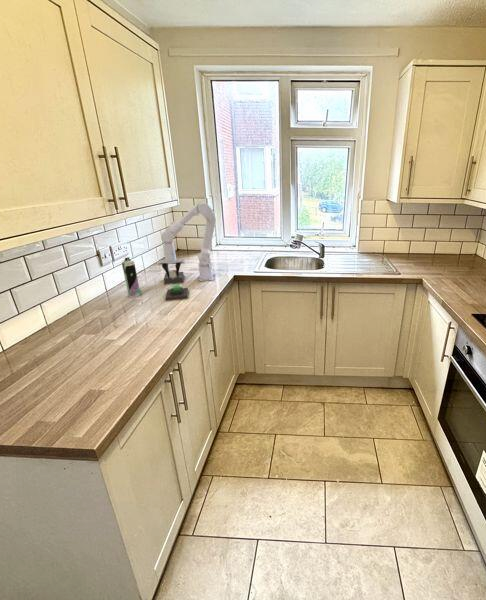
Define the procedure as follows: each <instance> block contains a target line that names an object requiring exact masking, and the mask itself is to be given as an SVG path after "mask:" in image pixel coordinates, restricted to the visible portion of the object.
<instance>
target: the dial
mask: <svg viewBox="0 0 486 600" xmlns="http://www.w3.org/2000/svg"><path fill="white" fill-rule="evenodd" d="M168 272H169V277H170V278H176V277H178V276H177V271H176V269H170V270H169V271H168Z"/></svg>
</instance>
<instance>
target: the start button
mask: <svg viewBox="0 0 486 600" xmlns="http://www.w3.org/2000/svg"><path fill="white" fill-rule="evenodd" d="M180 287H181V285H173V286H172V287H171V288H173V291H177V290H180Z"/></svg>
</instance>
